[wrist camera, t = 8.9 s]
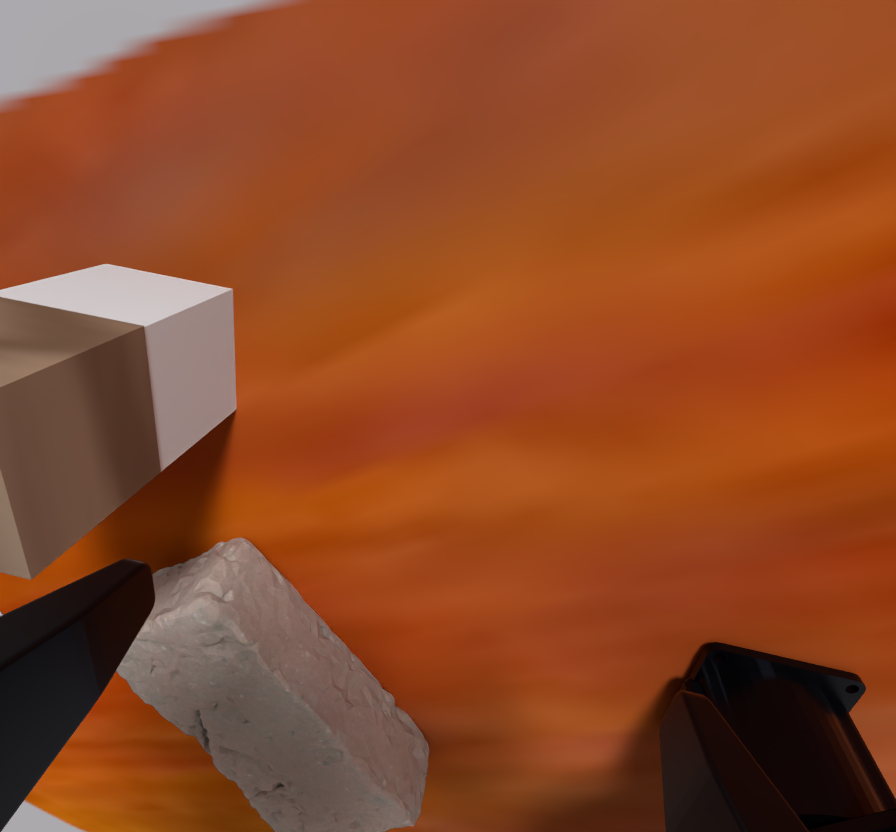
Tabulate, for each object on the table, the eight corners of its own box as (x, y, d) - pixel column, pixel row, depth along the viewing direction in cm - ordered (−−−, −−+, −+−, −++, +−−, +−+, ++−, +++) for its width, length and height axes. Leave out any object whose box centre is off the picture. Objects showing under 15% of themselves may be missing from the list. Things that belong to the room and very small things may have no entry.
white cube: (233, 288, 20) (143, 327, 15) (236, 409, 22) (159, 473, 18) (107, 263, 20) (-18, 293, 16) (123, 384, 22) (19, 441, 18)
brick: (137, 581, 28) (66, 656, 24) (249, 523, 25) (191, 598, 21) (328, 769, 33) (297, 859, 29) (441, 740, 30) (424, 835, 26)
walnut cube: (143, 325, 15) (-21, 396, 11) (160, 472, 18) (31, 579, 13) (-17, 293, 16) (-239, 348, 11) (20, 440, 18) (-152, 535, 13)
